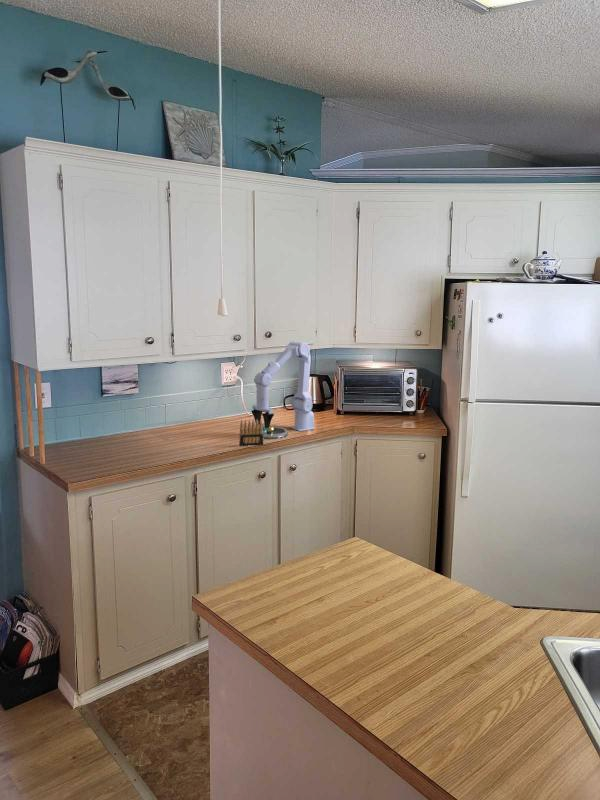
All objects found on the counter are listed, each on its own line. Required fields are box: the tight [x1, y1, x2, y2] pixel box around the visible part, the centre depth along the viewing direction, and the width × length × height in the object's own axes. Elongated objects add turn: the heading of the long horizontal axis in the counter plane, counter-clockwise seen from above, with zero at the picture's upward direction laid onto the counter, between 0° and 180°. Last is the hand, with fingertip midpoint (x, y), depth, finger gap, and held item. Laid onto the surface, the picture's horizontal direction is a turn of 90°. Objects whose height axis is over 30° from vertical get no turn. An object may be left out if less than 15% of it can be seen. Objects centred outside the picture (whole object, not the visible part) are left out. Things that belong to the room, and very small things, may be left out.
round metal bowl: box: [263, 426, 289, 440], centre depth 315 cm, size 17×17×4 cm
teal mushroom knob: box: [262, 423, 267, 434], centre depth 312 cm, size 4×4×5 cm
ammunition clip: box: [238, 418, 264, 447], centre depth 295 cm, size 11×2×12 cm, turn 106°
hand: (262, 426), depth 312 cm, fingers open, 7 cm apart
